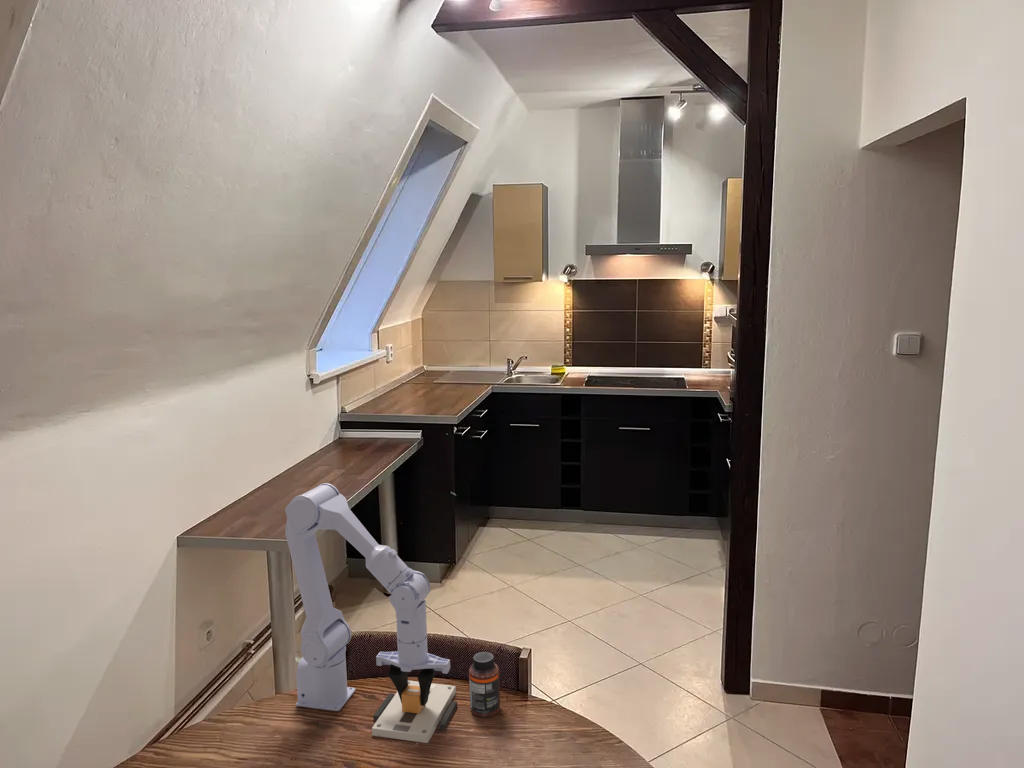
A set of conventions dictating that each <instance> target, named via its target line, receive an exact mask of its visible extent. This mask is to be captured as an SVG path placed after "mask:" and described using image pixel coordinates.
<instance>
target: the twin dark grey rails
mask: <svg viewBox="0 0 1024 768" xmlns="http://www.w3.org/2000/svg"><path fill="white" fill-rule="evenodd" d="M394 696H395V693H392V692H389V693H388V695H386V697H385V699H384V700H383V701H382V702H381V704H380V706H379V707H378V708H377V710H376V711H375V713H374V714H373V718H372V719H373V721H375V722H376V721H377V720H378V719H379V717H380V716H381V714H382V713H383V711H384V710H385V708H386V707H387V706H388V704H389V703H390V701H391V700H392V698H393V697H394ZM457 707H458V701H456V700H452V701H451V702H450V704H449V706H448V708H447V710H446V711H445V713H444V715H443V717H442V718H441V720H440V722H439V724H438V729H439V730H444V731H445V729H446V728H447V725H448V723H449V721H450V720H451V719H452V716H453V715H454V712H455V711H456V709H457Z"/></svg>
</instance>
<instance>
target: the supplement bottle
mask: <svg viewBox="0 0 1024 768" xmlns="http://www.w3.org/2000/svg"><path fill="white" fill-rule="evenodd" d="M472 659H473V660H472V661H473V662H472V664H471V665H470V667H469V669H468V680H469V681H468V683H469V685H468V686H469V687H468V689H469V708H470V711H471V713H472V714H473V715H474V716H477V717H479V718H488V717H493V716H494V715H496V714H498V712H499V711H500V709H501V689H500V669H499V666H498V665H497V663H495V660H494V659H495V658H494V654H493V653H491V652H488V651H480V652H477V653H475V654H474V655H473V658H472Z"/></svg>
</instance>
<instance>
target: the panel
mask: <svg viewBox="0 0 1024 768" xmlns="http://www.w3.org/2000/svg"><path fill="white" fill-rule="evenodd" d="M408 685H412V686H419V681H418V680H417V681H415V680H409V679H408ZM456 689H457V687H456V685H452V684H451V685H449V684H441V683H433V682H432V683H431V687H430V691H429V696H428V701H427V703H426V705H425V706H424V707H423V708H422V710H421V712H420V713H419V714H418V713H410V712H402V703H401V700H400V697H399V694H398V691H397V690H396V693H394V697H393V698H392V700H391V701H390V703H389V704H388V706H387V707H386V708H385V710H384V711H383V713H382V714H381V716H380V717H379V719H378V720H377V721H375V723H374V724H373V726H372V727H371V736H375V737H382V738H387V739H388V738H390V739H393V740H395V739H396V740H404V741H411V742H417V743H423V744H428V743H429V742H430V740H431V738H432V736H433V734H434V733H435V732H436V729H437V727H439V724H440V722H441V720H442V718H443V716H444V715H445V713H446V711H447V709H448V707H449V706H450V704H451V702H452V701H453V699H454V698H455V695H456V693H457V690H456Z"/></svg>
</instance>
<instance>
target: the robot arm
mask: <svg viewBox="0 0 1024 768" xmlns="http://www.w3.org/2000/svg"><path fill="white" fill-rule="evenodd" d="M284 510H285V511H284V512H285V516H286V524H285V529H284V533H285V539H286V542H287V546H288V550H289V554H290V558H291V562H292V566H293V570H294V572H295V578H296V582H297V586H298V590H299V593H300V597H301V601H302V605H303V609H304V613H305V619H304V622H303V624H302V627H301V630H300V637H301V644H300V653H301V654H300V655H302V657H301V658H300V660H299V661H298V664H297V667H296V677H295V678H296V688H297V689H296V690H297V692H296V693H297V701H296V703H295V705H296V707H303V708H308V709H309V708H310V709H319V710H325V711H333V712H340V711H341V710H342V708H343V707H344V706H345V705H346V703H347V702H348V700H349V699H350V698H351V697H352V696H353V694H354V693H355V692H356V688H355V687H353V686H352V687H351V686H348V677H347V658H346V657H347V656H346V651H347V645H348V644H349V642H350V641H351V638H352V631H351V627H350V626H349V624H348V622H347V621H346V620H345V618H344V614H343V612H342V611H341V610H339V609H337V608H335V607H334V605H333V600H332V597H331V592H330V589H329V583H328V581H327V580H328V579H327V575H326V571H325V568H324V563H323V561H322V556H321V553H320V552H321V551H320V548H319V544H318V541H317V540H318V539H317V535H316V534H317V532H318V531H319V530H327V531H328V530H329V531H330V530H332V531H336V532H337V533H339V534H340V535H341V536H342V537H343V538H344V539H345V540H346V541H347V542H348V543H349V544H351V545H352V547H354V548H355V549H356V550H357V551H358V552H359V553H360V554H361V555H362V556H363V557H364V558H365V567H366V569H367V570H368V571H369V572H370V573H371V574H372V575H373V577H374V578H375V579H376V580H377V581H378V582H379V583H380V584H381V585H382V586H383V587H384V588H385V589H386V590H387V591H388V593H390V595H389V596H388V597H389V599H388V600H389V602H390V604H391V606H392V608H394V610H395V618H396V642H397V643H396V645H397V651H379V652H378V654H377V655H376V656H375V658H376V659H375V661H376V664H375V665H376V666H378V667H382V666H383V665H384V666H386V665H387V666H390V668H389V670H388V672H387V675H388V678H389V679H390V680H391V681H392V683H393V684H394V686H395V689H396V692H397V691H398V694H399V697H400V700H401V703H402V697H401V695H402V693H403V692H404V690H405V689H406V687H407V686H408V680H409V673H410V672H412V671H413V670H421V671H420V672H419V674H418V675H417V682H419V686H420V701H421V706H425V705H426V703H427V701H428V696H429V691H430V687H431V683H433V680H434V677H435V676H436V673H437V672H441V673H442V674H446V675H447V674H448V673H449V672H450V670H451V658H450V659H448V658H443V657H440V656H437V655H435V654H432V653H429V652H428V629H427V601H426V598H427V597H428V595H429V594H430V592H431V583H430V581H429V579H428V578H427V576H426V574H425V573H423V572H421V571H418V570H414V569H412V568H410V567H409V566H408V565H407V563H405V562H404V560H403V559H401V558H400V557H399V555H398V552H397V551H396V550H395V549H394V548H391V547H390V546H389V545H384V544H379V543H378V542H377V541H376V539H375V538H374V537H373V536H372V535H371V534H370V532H369V530H367V528H366V527H365V526H364V525H363V523H361V521H360V520H359V519H358V517H357V516H356V515H355V513H353V511H352V510H351V509H350V507H349V504H348V500H347V498H346V497H345V496H344V495H343V494H342V493H340V491H339V489H338V488H337V487H336V486H335V485H333V484H331V483H328V482H325V483H320V484H318V485H317V486H316V487H314V488H312V489H310V490H308V491H306V492H304V493H301V494H299V495H296V496H294V497H293V498H292V499H291V500H290V502H289V503H288V505H286V507H285V508H284Z"/></svg>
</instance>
